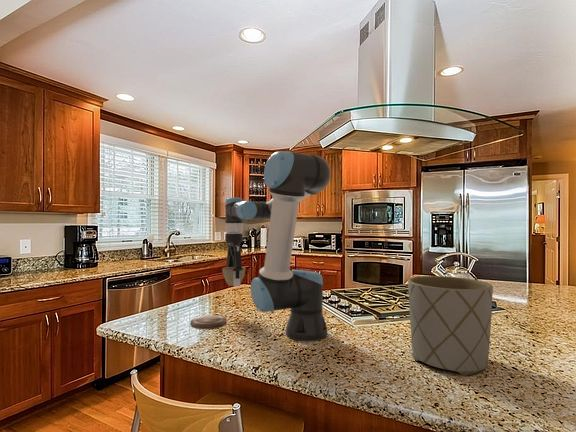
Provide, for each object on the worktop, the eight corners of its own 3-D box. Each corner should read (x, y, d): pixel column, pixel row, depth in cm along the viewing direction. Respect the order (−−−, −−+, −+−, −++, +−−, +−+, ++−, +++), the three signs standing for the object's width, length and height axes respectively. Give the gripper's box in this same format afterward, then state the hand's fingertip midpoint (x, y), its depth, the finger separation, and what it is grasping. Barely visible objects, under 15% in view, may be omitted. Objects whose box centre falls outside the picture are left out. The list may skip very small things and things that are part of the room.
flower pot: (243, 286, 146) (243, 269, 146) (219, 286, 146) (219, 269, 146) (247, 282, 156) (247, 266, 156) (225, 282, 156) (225, 266, 156)
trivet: (229, 325, 136) (230, 322, 136) (193, 330, 130) (193, 326, 130) (221, 316, 149) (221, 313, 149) (188, 320, 143) (188, 316, 143)
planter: (394, 360, 103) (394, 281, 103) (427, 341, 119) (427, 273, 119) (477, 387, 87) (477, 293, 87) (502, 361, 103) (502, 282, 103)
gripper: (249, 233, 142) (249, 288, 142) (236, 232, 163) (235, 279, 163) (231, 234, 139) (231, 289, 139) (220, 232, 160) (219, 280, 160)
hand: (233, 284), depth 151 cm, fingers closed on flower pot, 10 cm apart
